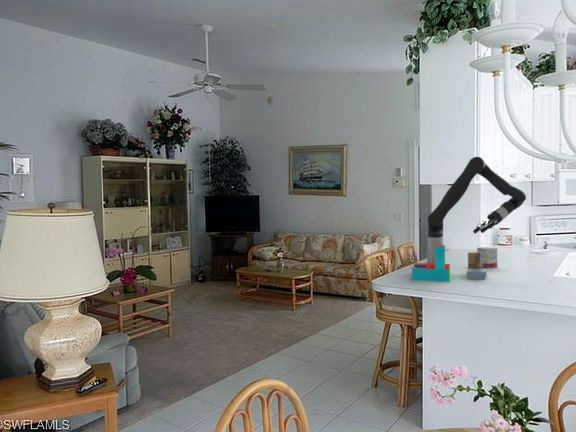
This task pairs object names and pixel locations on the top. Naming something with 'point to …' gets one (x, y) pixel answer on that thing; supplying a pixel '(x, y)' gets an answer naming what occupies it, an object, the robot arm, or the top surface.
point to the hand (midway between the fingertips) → (477, 232)
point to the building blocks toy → (433, 268)
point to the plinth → (476, 274)
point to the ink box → (488, 256)
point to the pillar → (473, 260)
